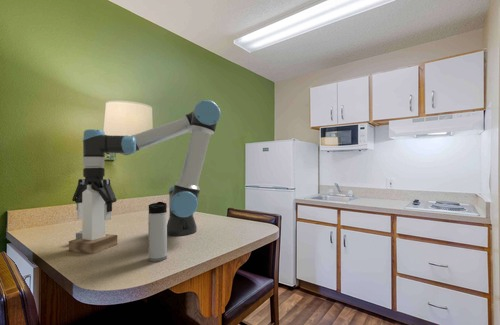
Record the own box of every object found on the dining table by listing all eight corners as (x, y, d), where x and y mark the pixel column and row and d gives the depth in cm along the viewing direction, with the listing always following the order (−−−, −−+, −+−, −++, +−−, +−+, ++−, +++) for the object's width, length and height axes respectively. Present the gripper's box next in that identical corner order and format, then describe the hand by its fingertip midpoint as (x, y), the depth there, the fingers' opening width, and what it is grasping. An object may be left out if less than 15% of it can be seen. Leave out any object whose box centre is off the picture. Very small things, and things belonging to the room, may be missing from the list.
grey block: (94, 241, 113) (94, 230, 113) (87, 244, 108) (87, 233, 108) (83, 241, 113) (83, 230, 113) (75, 244, 108) (75, 233, 108)
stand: (117, 244, 108) (117, 235, 108) (93, 253, 96) (93, 243, 96) (94, 242, 111) (94, 233, 111) (68, 251, 99) (68, 241, 99)
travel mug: (169, 254, 95) (169, 201, 95) (164, 261, 88) (163, 204, 88) (152, 255, 94) (152, 201, 95) (145, 262, 88) (145, 204, 88)
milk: (82, 239, 102) (81, 184, 103) (96, 235, 108) (96, 183, 108) (92, 240, 100) (91, 185, 100) (106, 236, 105) (105, 183, 106)
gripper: (126, 167, 104) (126, 218, 104) (78, 167, 111) (78, 216, 111) (111, 167, 97) (111, 222, 97) (61, 167, 104) (61, 219, 103)
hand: (94, 219), depth 104 cm, fingers open, 13 cm apart
